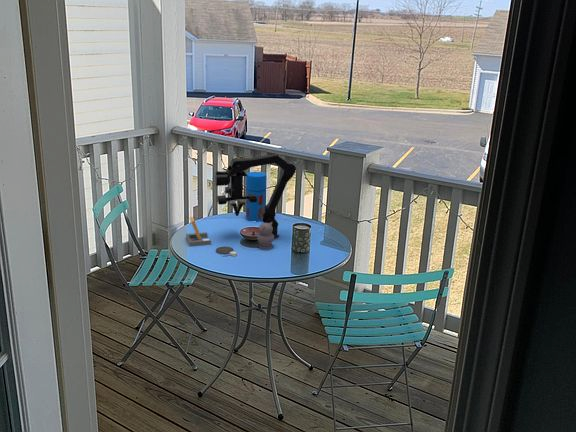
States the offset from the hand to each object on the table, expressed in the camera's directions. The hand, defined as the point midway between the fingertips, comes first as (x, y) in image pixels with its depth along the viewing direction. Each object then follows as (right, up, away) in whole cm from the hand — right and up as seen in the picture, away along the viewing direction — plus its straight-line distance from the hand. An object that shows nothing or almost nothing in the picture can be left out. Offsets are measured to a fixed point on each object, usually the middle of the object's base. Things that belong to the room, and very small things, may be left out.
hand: (236, 215), depth 270 cm
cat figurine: (+14, -15, -4) cm, 21 cm away
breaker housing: (-18, -13, -3) cm, 23 cm away
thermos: (+7, -2, +32) cm, 33 cm away
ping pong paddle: (-3, -17, -14) cm, 22 cm away
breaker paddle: (-17, -12, -3) cm, 21 cm away
